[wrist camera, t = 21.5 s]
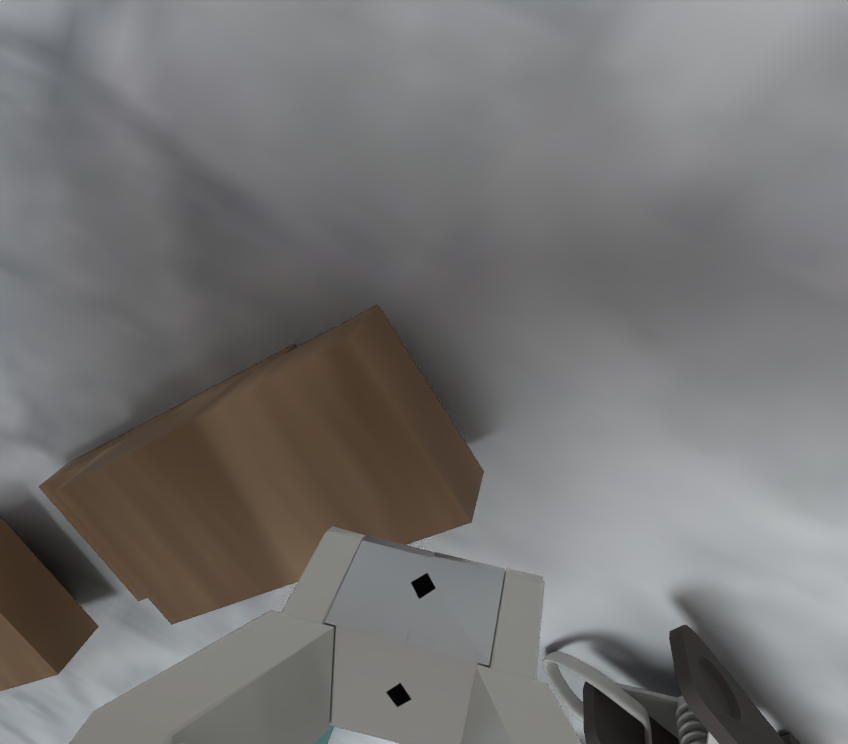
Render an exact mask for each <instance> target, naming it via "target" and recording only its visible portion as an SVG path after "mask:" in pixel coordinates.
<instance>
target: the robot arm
mask: <svg viewBox="0 0 848 744" xmlns="http://www.w3.org/2000/svg"><path fill="white" fill-rule="evenodd" d="M543 594H544V580H543V577H542V576H538V575H533V574H529V573H525V572H520V571H516V570H511V569H506V571H505V568H501V567H496V566H492V565H488V564H483V563H479V562H475V561H470V560H466V559H462V558H457V557H453V556H449V555H444V554H440V553H436V552H435V553H434V552H430V551H427V550H423V549H419V548H415V547H411V546H408V545H404V544H400V543H396V542H393V541H389V540H385V539H381V538H378V537H374V536H370V535H362V534H359V533H355V532H352V531H348V530H344V529H341V528H337V527H333V526H332V527H331V528H330V529H329V530H328V531H327V532H325V534H324V536H323V537H322V539H321V541H320V543H319V545H318V546H317V548H316V550H315V552H314V554H313V556H312V557H311V559H310V561H309V563H308V565H307V567H306V568H305V570H304V572H303V574H302V576H301V577H300V579H299V581H298V583H297V585H296V587H295V588H294V590H293V592H292V594H291V596H290V597H289V599H288V601H287V603H286V605H285V607H284V608H283V610H282V612H281V613H280V612H275V611H271V610H270V611H268V612H267V613H265V614H263V615H261V616H260V617H258V618H256V619H254V620H253V621H251V622H249V623H247V624H246V625H244V626H242V627H240V628H239V629H237V630H235V631H233V632H232V633H230V634H228V635H226V636H225V637H223V638H221V639H219V640H218V641H216V642H214V643H212V644H211V645H209V646H207V647H205V648H204V649H202V650H200V651H198V652H197V653H195V654H193V655H191V656H189V657H188V658H186V659H184V660H182V661H181V662H179V663H177V664H175V665H174V666H172V667H170V668H168V669H167V670H165V671H163V672H161V673H160V674H158V675H156V676H154V677H153V678H151V679H149V680H147V681H146V682H144V683H142V684H140V685H139V686H137V687H135V688H133V689H132V690H130V691H128V692H126V693H125V694H123V695H121V696H119V697H118V698H116V699H114V700H112V701H111V702H109V703H107V704H105V705H104V706H102V707H100V708H98V709H97V710H95V711H93V713H92V714H91V715H90V717H89V718H88V719H87V721H86V722H85V723H84V725H83V726H82V727H81V729H80V730H79V731H78V733H77V734H76V735H75V737H74V738H73V739H72V741H71V742H70V743H69V744H314V743H315V742H316V741H317V740H318V739H319V738H320V737H321V736H322V735H324V734H325V733H326V732H327V731H328V730H329V725H331V726H335V727H339V728H343V729H346V730H350V731H354V732H358V733H362V734H366V735H370V736H374V737H378V738H382V739H385V740H389V741H393V740H394V741H393V742H396V743H399V744H582V743H581V742H580V740H579V738H578V736H577V734H576V733H575V731H574V729H573V727H572V726H571V724H570V722H569V720H568V718H567V717H566V715H565V713H564V711H563V709H562V708H561V706H560V704H559V702H558V700H557V699H556V697H555V695H554V693H553V691H552V690H551V688H550V686H549V684H547V683H544V682H541V681H537V680H536V677H537V665H538V654H539V642H540V630H541V618H542V606H543Z"/></svg>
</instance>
